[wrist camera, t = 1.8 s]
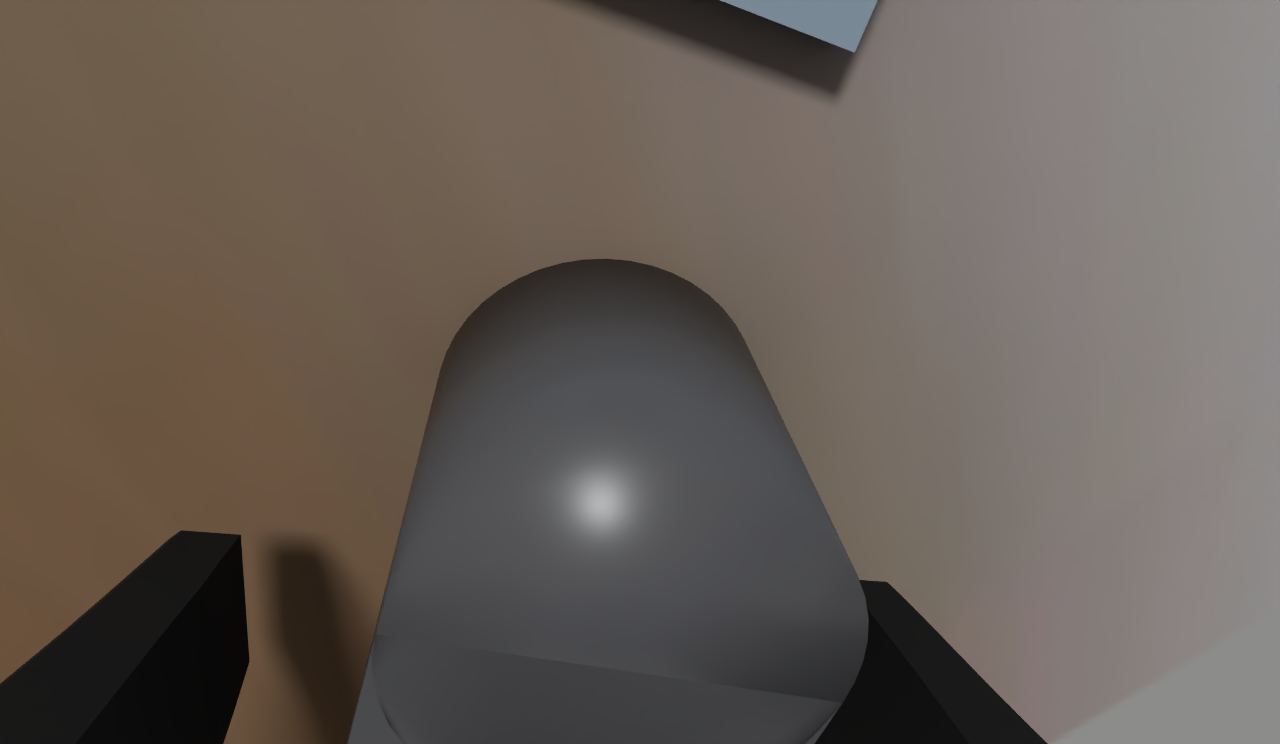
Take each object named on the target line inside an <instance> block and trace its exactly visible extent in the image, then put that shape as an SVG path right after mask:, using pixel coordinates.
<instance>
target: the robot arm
mask: <svg viewBox="0 0 1280 744" xmlns="http://www.w3.org/2000/svg"><path fill="white" fill-rule="evenodd" d="M859 581H860V584H861V587H862V589H863V592H864V595H865V599H866V605H867V612H868V618H869V621H868V642H867V646H866V651H865V655H864V660H863V663H862V666H861V668H860V671H859V673H858V676H857V678H856V680H855V683H854V685H853V686H852V688H851V690H850V691H849V693H848V695H847V696H846V698H845V700H844V702H843V703H842V705H841V706H840V708H839V709H838V710H837V712H836V713H835V715H834V716H833V718H832V719H831V721H830V722H829V724H828V725H827V726H826V728H825V729H824V731H823V732H822V734H821V735H820V737H819V738H818V740H817V741H816V742H815V744H1047V743H1046V742H1045V741H1044V740H1043V739H1042V738H1041V737H1040V736H1039V735H1038V734H1037V733H1036V732H1035V731H1034V730H1033V729H1032V728H1031V727H1030V726H1029V725H1028V724H1027V723H1026V722H1025V721H1024V720H1023V719H1022V718H1021V717H1020V716H1019V715H1018V714H1017V713H1016V712H1015V711H1014V710H1013V709H1012V708H1011V707H1010V706H1009V705H1008V704H1007V703H1006V702H1005V701H1004V700H1003V699H1002V698H1001V697H1000V696H999V695H998V694H997V693H996V692H995V691H994V690H993V689H992V688H991V687H990V686H989V685H988V684H987V683H986V682H985V681H984V680H983V679H982V678H981V677H980V676H979V675H978V674H977V672H976V671H975V670H974V669H973V668H972V667H971V666H970V665H969V664H968V663H967V662H966V661H965V660H964V659H963V658H962V657H961V656H960V655H959V654H958V653H957V652H956V651H955V650H954V649H953V648H952V647H951V646H950V645H949V644H948V643H947V642H946V641H945V639H944V638H943V637H942V636H941V635H940V634H939V633H938V632H937V631H936V630H935V629H934V628H933V627H932V626H931V625H930V624H929V623H928V622H927V621H926V620H925V619H924V618H923V617H922V616H921V615H920V614H919V613H918V612H917V611H916V610H915V609H914V608H913V607H912V606H911V605H910V604H909V603H908V602H907V601H906V600H905V599H904V598H903V597H902V596H901V595H900V594H899V593H898V592H897V591H896V590H895V589H894V588H893V587H892V586H891V585H890V584H888V583H887V582H879V581H865V580H859ZM248 664H249V649H248V634H247V620H246V605H245V590H244V576H243V561H242V547H241V535H235V534H221V533H208V532H194V531H180V532H178V533H177V534H176V535H174V536H173V537H171V538H170V539H169V540H168V541H167V542H165V543H164V544H163V545H162V546H161V547H160V548H159V549H157V550H156V551H155V552H154V553H153V554H152V555H151V556H149V557H148V558H147V559H146V560H145V561H144V562H143V563H142V564H140V565H139V566H138V567H137V568H136V569H135V570H134V571H132V572H131V573H130V574H129V575H128V576H127V577H126V578H125V579H123V580H122V581H121V582H120V583H119V584H118V585H117V586H115V587H114V588H113V589H112V590H111V591H110V592H109V593H107V594H106V595H105V596H104V597H103V598H102V599H101V600H99V601H98V602H97V603H96V604H95V605H94V606H92V607H91V608H90V609H89V610H88V611H87V612H85V613H84V614H83V615H82V616H81V617H80V618H78V619H77V620H76V621H75V622H74V623H73V624H72V625H70V626H69V627H68V628H67V629H66V630H65V631H63V632H62V633H61V634H60V635H59V636H57V637H56V638H55V639H54V640H53V641H51V642H50V643H49V644H48V645H46V646H45V647H44V648H43V649H42V650H40V651H39V652H38V653H37V654H36V655H34V656H33V657H32V658H31V659H30V660H28V661H27V662H26V663H25V664H24V665H22V666H21V667H20V668H19V669H17V670H16V671H15V672H14V673H13V674H11V675H10V676H9V677H8V678H7V679H5V680H4V681H3V682H2V683H1V684H0V744H223V743H224V740H225V737H226V734H227V731H228V728H229V725H230V722H231V719H232V716H233V713H234V709H235V706H236V703H237V700H238V697H239V693H240V690H241V687H242V684H243V681H244V677H245V674H246V671H247V668H248Z"/></svg>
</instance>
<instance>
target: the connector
mask: <svg viewBox="0 0 1280 744" xmlns="http://www.w3.org/2000/svg"><path fill="white" fill-rule="evenodd" d="M868 621H869V618H868V612H867V605H866V599H865V595H864V592H863V589H862V587H861V584H860V581H859V578H858V576H857V573H856V571H855V569H854V567H853V565H852V563H851V561H850V559H849V557H848V555H847V553H846V551H845V548H844V546H843V544H842V542H841V540H840V538H839V536H838V534H837V532H836V530H835V528H834V526H833V523H832V521H831V519H830V517H829V515H828V513H827V511H826V509H825V507H824V505H823V503H822V501H821V498H820V496H819V494H818V492H817V490H816V488H815V486H814V484H813V482H812V480H811V478H810V476H809V474H808V471H807V469H806V467H805V465H804V463H803V461H802V459H801V457H800V455H799V453H798V451H797V449H796V446H795V444H794V442H793V440H792V438H791V436H790V434H789V432H788V430H787V428H786V426H785V424H784V421H783V419H782V417H781V415H780V413H779V411H778V409H777V407H776V405H775V403H774V401H773V399H772V396H771V394H770V392H769V390H768V388H767V386H766V384H765V382H764V380H763V378H762V376H761V374H760V371H759V369H758V367H757V365H756V363H755V361H754V359H753V357H752V355H751V353H750V351H749V349H748V347H747V344H746V342H745V340H744V338H743V337H742V335H741V333H740V331H739V330H738V328H737V326H736V324H735V323H734V322H733V320H732V319H731V318H730V317H729V315H728V314H727V313H726V312H725V310H724V309H723V308H722V307H721V306H720V305H719V304H718V303H717V302H716V301H715V300H714V299H712V298H711V297H710V296H709V295H708V294H707V293H705V292H704V291H702V290H701V289H700V288H698V287H697V286H695V285H694V284H692V283H691V282H689V281H687V280H685V279H683V278H681V277H679V276H677V275H675V274H673V273H671V272H668V271H665V270H662V269H660V268H657V267H654V266H651V265H646V264H641V263H637V262H632V261H624V260H613V259H591V260H579V261H573V262H567V263H561V264H557V265H554V266H550V267H547V268H543V269H540V270H537V271H535V272H533V273H530V274H528V275H526V276H523V277H521V278H519V279H517V280H515V281H513V282H512V283H510V284H508V285H507V286H505V287H503V288H502V289H500V290H498V291H497V292H496V293H495V294H493V295H492V296H491V297H489V298H488V299H487V300H486V301H484V302H483V303H482V304H481V305H480V306H479V307H478V308H477V309H476V310H475V311H474V312H473V313H472V314H471V315H470V316H469V317H468V318H467V320H466V321H465V322H464V324H463V325H462V327H461V328H460V329H459V331H458V332H457V333H456V335H455V337H454V339H453V340H452V342H451V344H450V346H449V348H448V350H447V352H446V355H445V358H444V361H443V364H442V367H441V370H440V373H439V377H438V381H437V385H436V389H435V393H434V397H433V401H432V405H431V409H430V413H429V417H428V421H427V425H426V429H425V433H424V437H423V441H422V445H421V449H420V453H419V457H418V461H417V465H416V468H415V472H414V476H413V480H412V484H411V488H410V492H409V496H408V500H407V504H406V508H405V512H404V516H403V520H402V524H401V528H400V532H399V536H398V540H397V544H396V548H395V552H394V556H393V560H392V564H391V568H390V572H389V576H388V580H387V584H386V588H385V592H384V596H383V600H382V604H381V608H380V612H379V616H378V620H377V624H376V628H375V632H374V636H373V640H372V644H371V648H370V652H369V656H368V660H367V664H366V668H365V672H364V676H363V680H362V684H361V688H360V692H359V696H358V700H357V704H356V708H355V712H354V716H353V721H352V725H351V729H350V733H349V737H348V741H347V744H815V742H816V741H817V740H818V738H819V737H820V735H821V734H822V732H823V731H824V729H825V728H826V726H827V725H828V724H829V722H830V721H831V719H832V718H833V716H834V715H835V713H836V712H837V710H838V709H839V708H840V706H841V705H842V703H843V702H844V700H845V698H846V696H847V695H848V693H849V691H850V690H851V688H852V686H853V685H854V683H855V680H856V678H857V676H858V673H859V671H860V668H861V666H862V663H863V660H864V655H865V651H866V646H867V642H868Z"/></svg>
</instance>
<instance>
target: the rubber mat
mask: <svg viewBox="0 0 1280 744" xmlns="http://www.w3.org/2000/svg"><path fill="white" fill-rule="evenodd" d="M720 1H723V2H726V3H728V4H731V5H733V6H736V7H738V8H741V9H744V10H746V11H749V12H751V13H754V14H756V15H759V16H762V17H764V18H767V19H769V20H772V21H774V22H777V23H780V24H782V25H785V26H787V27H790V28H792V29H795V30H798V31H800V32H803V33H805V34H808V35H810V36H813V37H816V38H818V39H821V40H823V41H826V42H828V43H831V44H834V45H836V46H839V47H841V48H844V49H846V50H849V51H852V52H854V53H855V51H856V48H857V46H858V44H859V42H860V39H861V37H862V35H863V33H864V30H865V28H866V26H867V23H868V21H869V19H870V17H871V14H872V12H873V10H874V8H875V5H876V3H877V1H878V0H720Z"/></svg>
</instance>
